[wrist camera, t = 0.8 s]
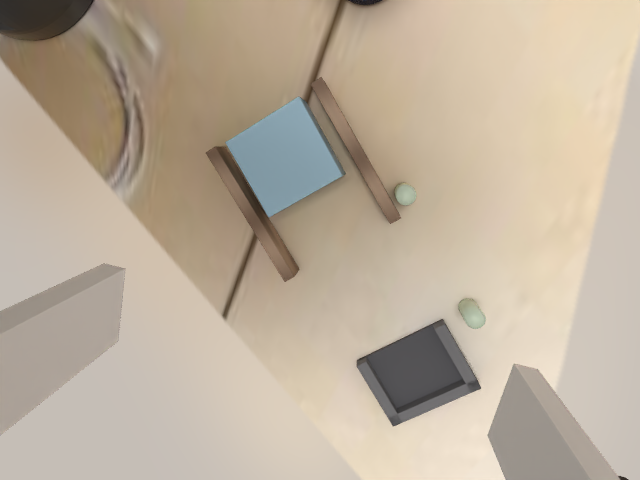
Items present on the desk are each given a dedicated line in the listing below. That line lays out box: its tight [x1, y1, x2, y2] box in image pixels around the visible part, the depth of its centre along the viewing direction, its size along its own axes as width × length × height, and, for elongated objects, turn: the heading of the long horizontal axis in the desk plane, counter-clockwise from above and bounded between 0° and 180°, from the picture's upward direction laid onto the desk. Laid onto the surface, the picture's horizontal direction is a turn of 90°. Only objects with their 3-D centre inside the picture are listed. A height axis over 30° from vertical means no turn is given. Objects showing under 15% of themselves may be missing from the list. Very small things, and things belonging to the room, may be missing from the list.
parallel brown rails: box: [206, 77, 401, 282], centre depth 36 cm, size 13×12×2 cm
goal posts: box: [394, 183, 486, 329], centre depth 36 cm, size 14×2×3 cm, turn 31°
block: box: [225, 97, 346, 217], centre depth 36 cm, size 7×7×4 cm
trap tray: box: [357, 319, 481, 426], centre depth 39 cm, size 7×9×1 cm
